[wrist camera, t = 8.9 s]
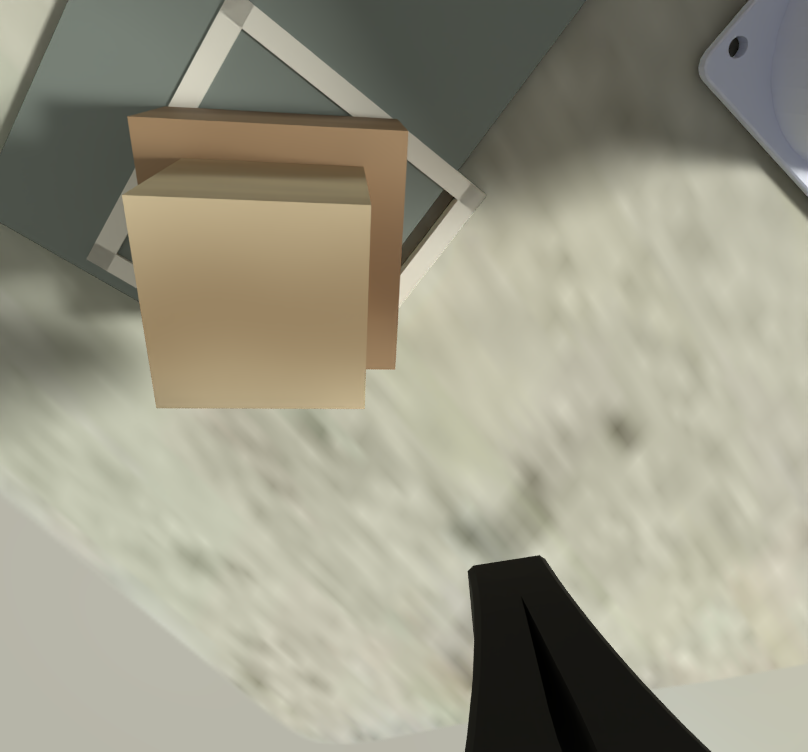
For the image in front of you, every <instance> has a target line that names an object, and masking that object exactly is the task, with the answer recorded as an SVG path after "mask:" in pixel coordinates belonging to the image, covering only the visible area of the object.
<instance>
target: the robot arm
mask: <svg viewBox="0 0 808 752" xmlns="http://www.w3.org/2000/svg"><path fill="white" fill-rule="evenodd" d="M734 38H738V41H739V49H738V51H737V53H736V54H735V55H734V56H733V57H730V55H729V52H728V50H729V45H730V43H731V41H732V40H733V39H734ZM698 69H699V76H700V77H701V79H702V81H703V82H704V83H705V84H706V85H707V86H708V87H709V89H710V90H711V91H712V92H713V93H714V94H715V95H716V96H717V97H718V99H719V100H720V101H721V102H722V103H723V104H724V105H725V106H726V107H727V108H728V110H729V111H730V112H731V113H732V114H733V115H734V116H735V117H736V118H737V119H738V121H739V122H740V123H741V124H742V125H743V126H744V127H745V128H746V129H747V130H748V132H749V133H750V134H751V135H752V136H753V137H754V138H755V139H756V140H757V142H758V143H759V144H760V145H761V146H762V147H763V148H764V149H765V150H766V151H767V153H768V154H769V155H770V156H771V157H772V158H773V159H774V160H775V161H776V162H777V164H778V165H779V166H780V167H781V168H782V169H783V170H784V171H785V172H786V174H787V175H788V176H789V177H790V178H791V179H792V180H793V181H794V182H795V183H796V185H797V186H798V187H799V188H800V189H801V190H802V191H803V192H804V193H805V194H806V196H807V197H808V0H748V2H747V3H746V4H745V5H744V6H743V7H742V9H741V10H740V11H739V12H738V13H737V14H736V16H735V17H734V18H733V19H732V20H731V22H730V23H729V24H728V25H727V26H726V27H725V29H724V30H723V31H722V32H721V33H720V34H719V36H718V37H717V38H716V39H715V40H714V42H713V43H712V44H711V45H710V46H709V47H708V49H707V50H706V51H705V52H704V54H703V56H702V57H701V59H700V62H699V66H698ZM468 579H469V589H470V600H471V610H472V621H473V632H474V662H473V682H472V694H471V703H470V713H469V722H468V733H467V740H466V748H465V752H711V751H710V750H709V749H708V748H707V747H706V746H705V745H704V744H702V742H700V740H699V739H697V738H696V737H695V736H694V735H693V734H692V733H691V732H690V731H689V730H688V729H687V728H686V727H685V726H684V725H683V724H682V723H681V722H680V721H679V720H678V719H677V718H676V717H675V716H674V715H673V714H672V713H671V711H670V710H669V709H667V707H666V706H665V705H664V704H663V703H662V702H661V701H660V700H659V699H658V698H657V697H656V696H655V695H654V694H653V692H652V691H651V690H650V689H649V688H648V687H647V686H646V685H645V684H644V683H643V682H642V681H641V680H640V678H639V677H638V676H637V675H636V674H635V673H634V672H633V671H632V670H631V668H630V667H629V666H628V665H627V664H626V663H625V662H624V660H623V659H622V658H621V657H620V656H619V655H618V653H617V652H616V651H615V650H614V649H613V648H612V646H611V645H610V644H609V643H608V642H607V641H606V639H605V638H604V637H603V636H602V635H601V634H600V632H599V631H598V630H597V629H596V627H595V626H594V625H593V624H592V623H591V621H590V620H589V619H588V618H587V616H586V615H585V614H584V612H583V611H582V610H581V609H580V607H579V606H578V605H577V603H576V602H575V601H574V599H573V598H572V597H571V595H570V594H569V593H568V591H567V590H566V589H565V587H564V586H563V585H562V583H561V582H560V580H559V579H558V578H557V576H556V575H555V573H554V572H553V570H552V569H551V567H550V566H549V564H548V563H547V561H546V560H545V559H544V558H543V557H541V556H540V555H538V556H532V557H526V558H519V559H513V560H507V561H500V562H494V563H487V564H481V565H475V566H473V567H472V568H471V569H470V570H469V571H468Z"/></svg>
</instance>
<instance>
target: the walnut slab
mask: <svg viewBox="0 0 808 752" xmlns="http://www.w3.org/2000/svg"><path fill="white" fill-rule="evenodd" d="M127 118H128V124H129V131H130V138H131V144H132V151H133V157H134V164H135V170H136V177H137V184H138V185H139V184H141V183H142V182H144V181H145V180H147V179H149V178H150V177H152V176H154V175H155V174H157V173H158V172H160V171H162V170H163V169H165V168H166V167H168V166H170V165H171V164H173V163H175V162H176V161H178V160H179V159H181V158H191V159H212V160H233V161H254V162H275V163H296V164H317V165H338V166H359V167H364V171H365V176H366V181H367V186H368V191H369V197H370V202H371V226H370V257H369V288H368V318H367V349H366V369H395V362H396V344H397V326H398V308H399V291H400V273H401V255H402V238H403V220H404V202H405V184H406V167H407V149H408V130H407V129H406V128H405V127H404V126H403V125H402V123H401V122H400V121H399V120H398V119H388V118H370V117H352V116H333V115H315V114H297V113H278V112H260V111H241V110H223V109H205V108H186V107H168V106H164V107H161V108H157V109H153V110H149V111H146V112H142V113H138V114H135V115H131V116H127Z"/></svg>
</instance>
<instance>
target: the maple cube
mask: <svg viewBox="0 0 808 752" xmlns="http://www.w3.org/2000/svg"><path fill="white" fill-rule="evenodd" d="M122 199H123V205H124V211H125V218H126V224H127V230H128V236H129V242H130V248H131V254H132V261H133V267H134V273H135V279H136V285H137V291H138V298H139V304H140V310H141V316H142V322H143V328H144V334H145V341H146V347H147V353H148V359H149V365H150V371H151V377H152V384H153V390H154V396H155V402H156V408H271V409H365V379H366V349H367V318H368V288H369V257H370V226H371V202H370V197H369V191H368V186H367V181H366V176H365V171H364V167H359V166H338V165H317V164H296V163H275V162H254V161H233V160H212V159H191V158H181V159H179V160H178V161H176V162H175V163H173V164H171V165H170V166H168V167H166V168H165V169H163V170H162V171H160V172H158V173H157V174H155V175H154V176H152V177H150V178H149V179H147V180H145V181H144V182H142V183H141V184H139V185H137V186H136V187H134V188H133V189H131V190H129V191H128V192H126V193H124V194H123V195H122Z"/></svg>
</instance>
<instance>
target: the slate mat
mask: <svg viewBox="0 0 808 752" xmlns="http://www.w3.org/2000/svg"><path fill="white" fill-rule="evenodd" d="M585 1H586V0H68V2H67V4H66V7H65V9H64V11H63V14H62V16H61V18H60V20H59V23H58V25H57V27H56V29H55V32H54V34H53V36H52V38H51V41H50V43H49V45H48V47H47V50H46V52H45V54H44V57H43V59H42V61H41V63H40V66H39V68H38V70H37V72H36V75H35V77H34V79H33V81H32V84H31V86H30V88H29V90H28V93H27V95H26V97H25V99H24V102H23V104H22V106H21V109H20V111H19V113H18V115H17V118H16V120H15V122H14V124H13V127H12V129H11V131H10V133H9V136H8V138H7V140H6V142H5V145H4V147H3V149H2V152H1V154H0V223H2V224H3V225H5V226H7V227H9V228H10V229H12V230H14V231H16V232H17V233H19V234H21V235H23V236H24V237H26V238H28V239H30V240H31V241H33V242H35V243H37V244H38V245H40V246H42V247H44V248H45V249H47V250H49V251H51V252H52V253H54V254H56V255H58V256H59V257H61V258H63V259H65V260H67V261H68V262H70V263H72V264H74V265H75V266H77V267H79V268H81V269H82V270H84V271H86V272H88V273H89V274H91V275H93V276H95V277H96V278H98V279H100V280H102V281H103V282H105V283H107V284H109V285H110V286H112V287H114V288H116V289H117V290H119V291H121V292H123V293H124V294H126V295H128V296H130V297H131V298H133V299H135V300H137V301H138V302H139V298H138V291H137V285H136V279H135V273H134V267H133V261H132V254H131V248H130V242H129V236H128V230H127V224H126V218H125V211H124V205H123V199H122V195H123V194H124V193H126V192H128V191H129V190H131V189H133V188H134V187H136V186H137V185H138V184H137V177H136V170H135V164H134V157H133V151H132V144H131V138H130V131H129V124H128V118H127V116H131V115H135V114H138V113H142V112H146V111H149V110H153V109H157V108H161V107H164V106H168V107H186V108H205V109H223V110H241V111H260V112H278V113H297V114H315V115H333V116H352V117H370V118H388V119H398V120H399V121H400V122H401V123H402V125H403V126H404V127H405V128H406V129H407V130H408V149H407V167H406V184H405V202H404V220H403V238H402V244H403V243H404V242H405V240H406V239H407V238H408V236H409V235H410V234H411V232H412V231H413V230H414V228H415V227H416V226H417V224H418V223H419V222H420V220H421V219H422V218H423V216H424V215H425V214H426V212H427V211H428V210H429V208H430V207H431V206H432V204H433V203H434V202H435V200H436V199H437V198H438V196H439V195H440V194H441V192H442V191H443V190H444V189H445V190H446V191H447V192H448V193H450V194H451V195H452V196H453V197H454V199H453V200H452V201H451V203H450V204H449V205H448V207H447V208H446V209H445V210H444V212H443V213H442V214H441V216H440V217H439V218H438V220H437V221H436V222H435V224H434V225H433V226H432V227H431V229H430V230H429V231H428V233H427V234H426V235H425V237H424V238H423V239H422V241H421V242H420V243H419V244H418V246H417V247H416V248H415V250H414V251H413V252H412V254H411V255H410V256H409V258H408V259H407V260H406V261H405V263H404V264H403V265H402V267H401V273H400V291H399V307H400V306H401V304H402V303H403V302H404V301H405V299H406V298H407V297H408V296H409V294H410V293H411V292H412V290H413V289H414V288H415V287H416V285H417V284H418V283H419V282H420V280H421V279H422V278H423V276H424V275H425V274H426V273H427V271H428V270H429V269H430V268H431V266H432V265H433V264H434V262H435V261H436V260H437V259H438V257H439V256H440V255H441V254H442V252H443V251H444V250H445V248H446V247H447V246H448V245H449V243H450V242H451V241H452V240H453V238H454V237H455V236H456V234H457V233H458V232H459V231H460V229H461V228H462V227H463V226H464V224H465V223H466V222H467V220H468V219H469V218H470V217H471V215H472V214H473V213H474V212H475V210H476V209H477V208H478V206H479V205H480V204H481V203H482V201H483V200H484V199H485V198H486V196H487V195H486V194H485V193H484V192H483V191H482V190H480V189H479V188H478V187H477V186H475V185H474V184H473V183H472V182H471V181H469V180H468V179H467V178H466V177H464V176H463V175H462V174H461V173H460V172H458V170H459V169H460V167H461V166H462V165H463V163H464V162H465V161H466V159H467V158H468V157H469V155H470V154H471V153H472V151H473V150H474V149H475V147H476V146H477V145H478V143H479V142H480V141H481V139H482V138H483V137H484V135H485V134H486V133H487V131H488V130H489V129H490V127H491V126H492V125H493V123H494V122H495V121H496V119H497V118H498V117H499V115H500V114H501V113H502V111H503V110H504V109H505V107H506V106H507V105H508V103H509V102H510V101H511V99H512V98H513V97H514V95H515V94H516V93H517V91H518V90H519V89H520V87H521V86H522V85H523V83H524V82H525V81H526V80H527V78H528V77H529V76H530V74H531V73H532V72H533V70H534V69H535V68H536V66H537V65H538V64H539V62H540V61H541V60H542V58H543V57H544V56H545V54H546V53H547V52H548V50H549V49H550V48H551V46H552V45H553V44H554V42H555V41H556V40H557V38H558V37H559V36H560V34H561V33H562V32H563V30H564V29H565V28H566V26H567V25H568V24H569V22H570V21H571V20H572V18H573V17H574V16H575V14H576V13H577V12H578V10H579V9H580V8H581V6H582V5H583V4H584V2H585Z"/></svg>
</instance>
